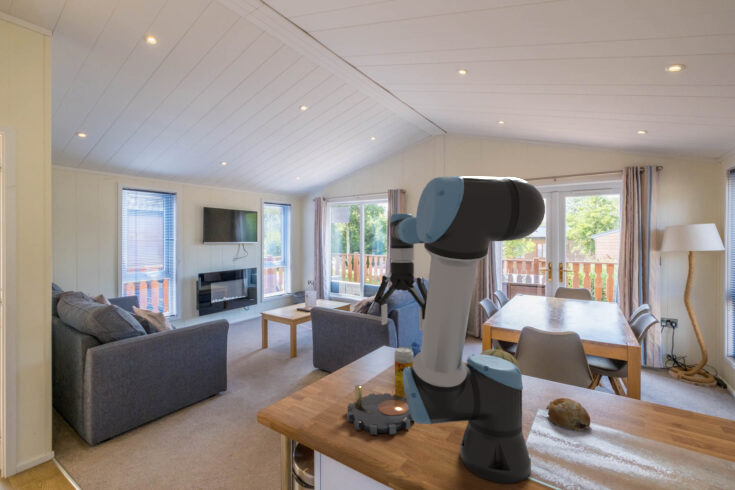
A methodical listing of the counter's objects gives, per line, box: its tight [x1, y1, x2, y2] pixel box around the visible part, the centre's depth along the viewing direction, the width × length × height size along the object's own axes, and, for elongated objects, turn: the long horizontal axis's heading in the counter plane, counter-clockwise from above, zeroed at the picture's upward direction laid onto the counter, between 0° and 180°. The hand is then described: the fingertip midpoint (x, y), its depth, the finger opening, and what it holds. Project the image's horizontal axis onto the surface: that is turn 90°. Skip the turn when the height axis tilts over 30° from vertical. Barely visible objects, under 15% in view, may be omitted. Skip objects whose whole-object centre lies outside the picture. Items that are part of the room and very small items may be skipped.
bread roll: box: [545, 397, 591, 432], centre depth 94 cm, size 10×10×8 cm
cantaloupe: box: [480, 345, 523, 377], centre depth 111 cm, size 15×15×15 cm
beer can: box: [394, 346, 413, 400], centre depth 111 cm, size 6×6×15 cm
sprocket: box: [346, 384, 414, 436], centre depth 97 cm, size 20×20×8 cm
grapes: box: [410, 340, 421, 359], centre depth 131 cm, size 12×7×12 cm, turn 171°
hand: (402, 326), depth 110 cm, fingers open, 13 cm apart
